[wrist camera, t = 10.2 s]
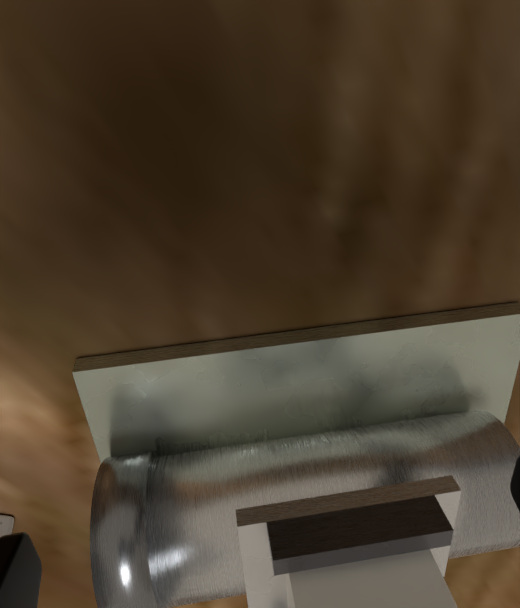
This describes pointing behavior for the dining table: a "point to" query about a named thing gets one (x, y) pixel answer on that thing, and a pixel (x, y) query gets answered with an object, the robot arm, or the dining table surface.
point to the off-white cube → (372, 584)
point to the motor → (299, 454)
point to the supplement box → (6, 525)
